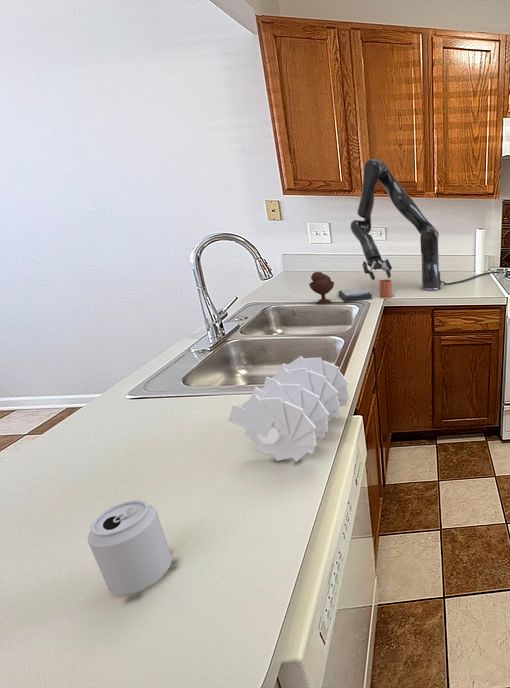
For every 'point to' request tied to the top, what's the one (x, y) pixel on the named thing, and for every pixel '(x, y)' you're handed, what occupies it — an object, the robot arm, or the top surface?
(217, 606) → the top surface
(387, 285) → the cup
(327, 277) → the ice cream bowl
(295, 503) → the top surface
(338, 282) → the top surface
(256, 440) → the spiral staircase
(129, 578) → the can
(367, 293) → the scale
